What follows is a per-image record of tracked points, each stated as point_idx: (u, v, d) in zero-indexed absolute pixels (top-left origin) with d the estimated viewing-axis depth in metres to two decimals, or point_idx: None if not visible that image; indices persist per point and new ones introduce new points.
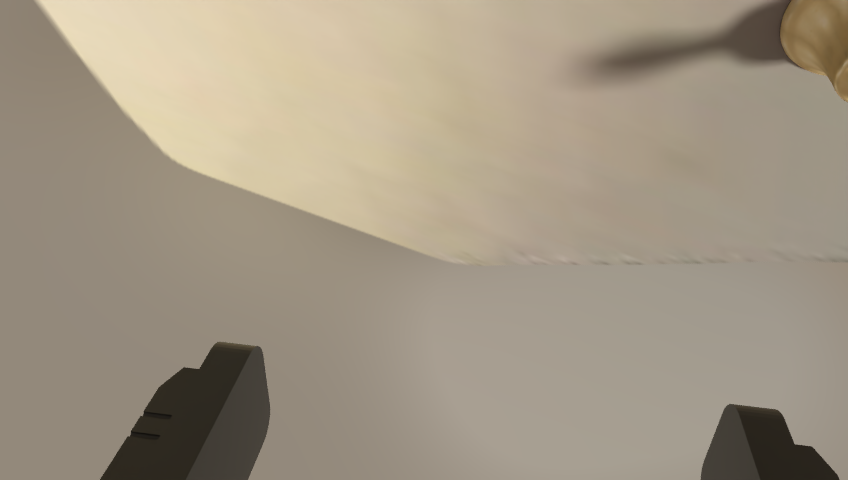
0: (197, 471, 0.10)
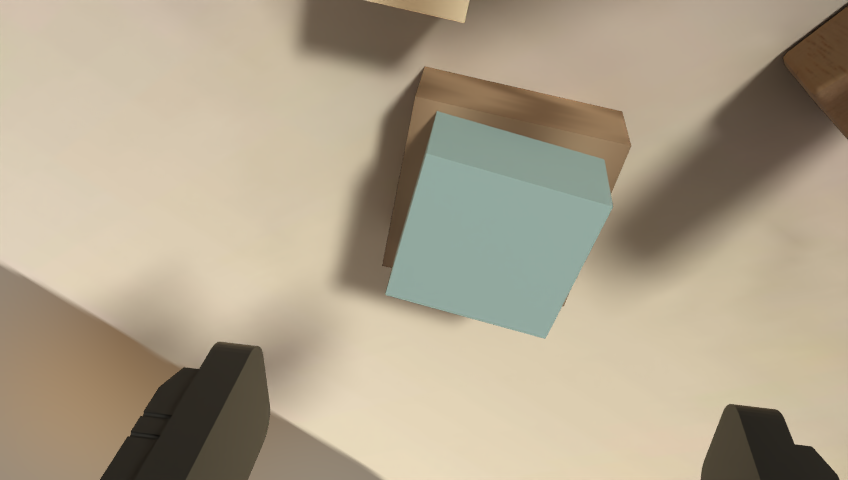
0: (197, 472, 0.10)
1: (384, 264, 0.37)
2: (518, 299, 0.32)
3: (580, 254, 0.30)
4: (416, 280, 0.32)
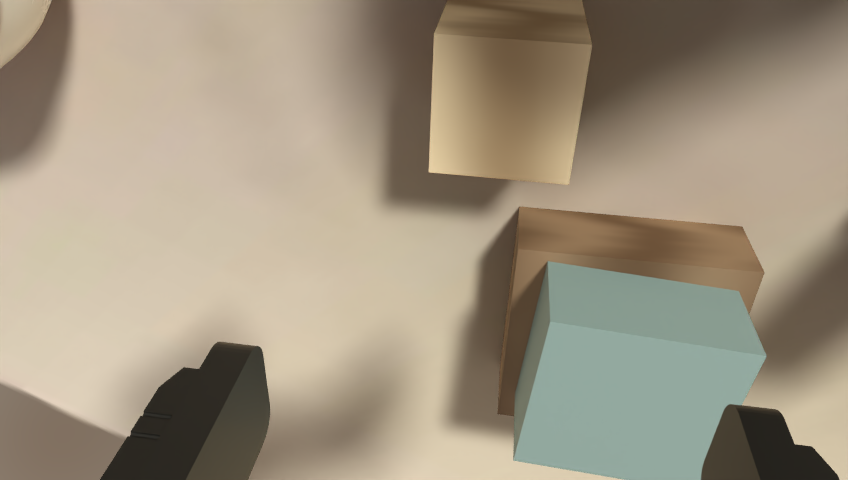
0: (197, 472, 0.10)
1: (499, 412, 0.34)
2: (663, 455, 0.29)
3: None
4: (546, 444, 0.29)
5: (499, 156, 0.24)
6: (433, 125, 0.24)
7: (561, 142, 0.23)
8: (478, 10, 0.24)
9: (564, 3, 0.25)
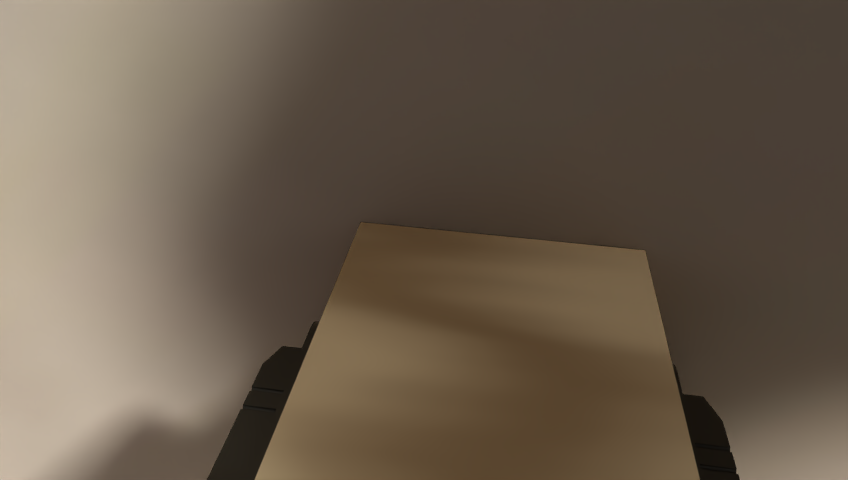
0: None
1: None
2: None
3: None
4: None
5: None
6: None
7: None
8: (399, 340, 0.10)
9: (611, 287, 0.11)
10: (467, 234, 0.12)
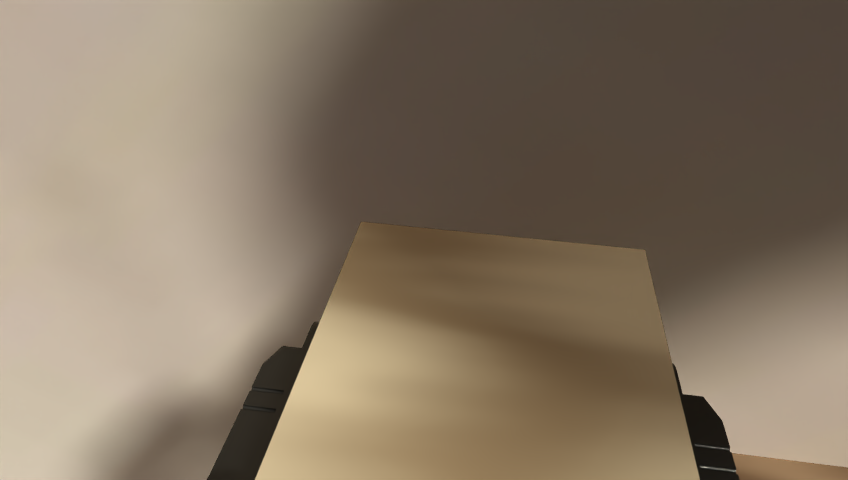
0: None
1: None
2: None
3: None
4: None
5: None
6: None
7: None
8: (400, 339, 0.10)
9: (611, 286, 0.11)
10: (467, 234, 0.12)
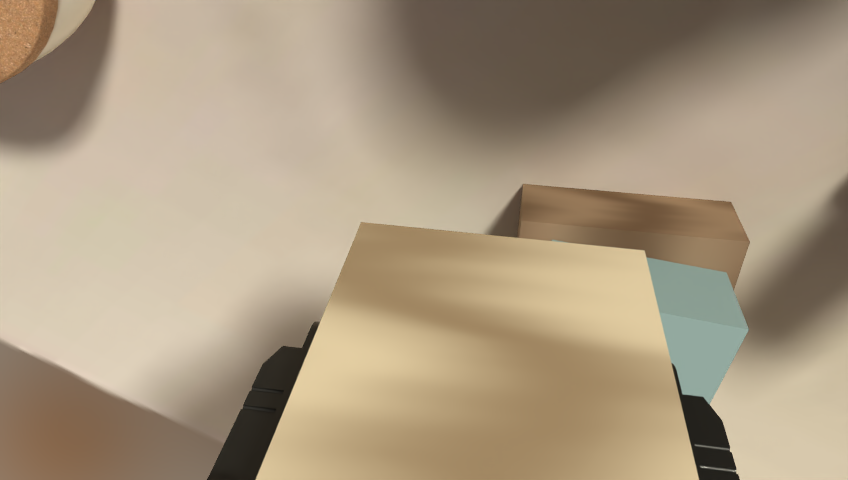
0: None
1: None
2: None
3: (716, 375, 0.29)
4: None
5: None
6: None
7: None
8: (400, 339, 0.10)
9: (610, 287, 0.11)
10: (467, 234, 0.12)
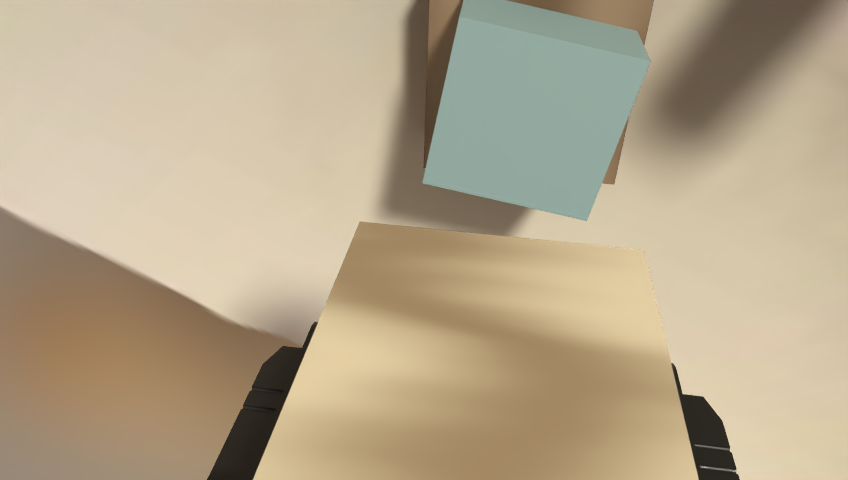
0: None
1: (425, 166, 0.36)
2: (557, 177, 0.31)
3: (619, 119, 0.29)
4: (452, 163, 0.31)
5: None
6: None
7: None
8: (397, 339, 0.10)
9: (610, 286, 0.11)
10: (466, 233, 0.12)
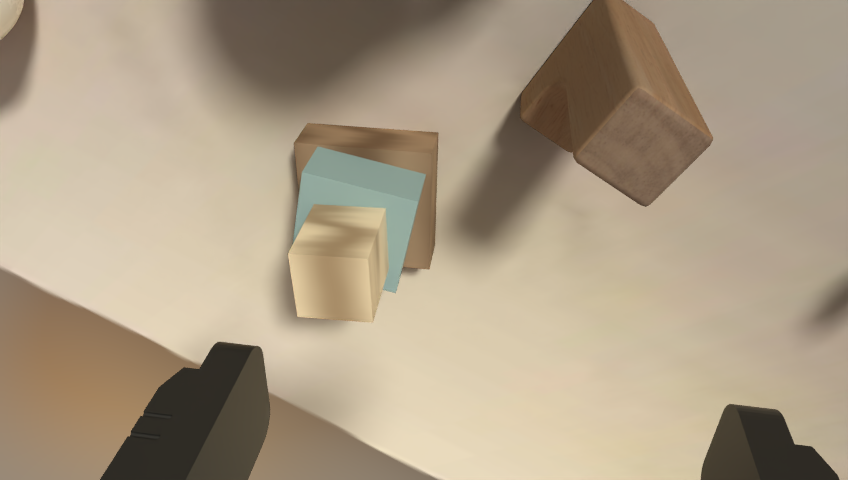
0: (197, 471, 0.10)
1: None
2: None
3: (405, 233, 0.47)
4: None
5: (333, 309, 0.44)
6: (295, 294, 0.43)
7: (363, 302, 0.43)
8: (319, 228, 0.44)
9: (372, 216, 0.45)
10: (341, 206, 0.46)
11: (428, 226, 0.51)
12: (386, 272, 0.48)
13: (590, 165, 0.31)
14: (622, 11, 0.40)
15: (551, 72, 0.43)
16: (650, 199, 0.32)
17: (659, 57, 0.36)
